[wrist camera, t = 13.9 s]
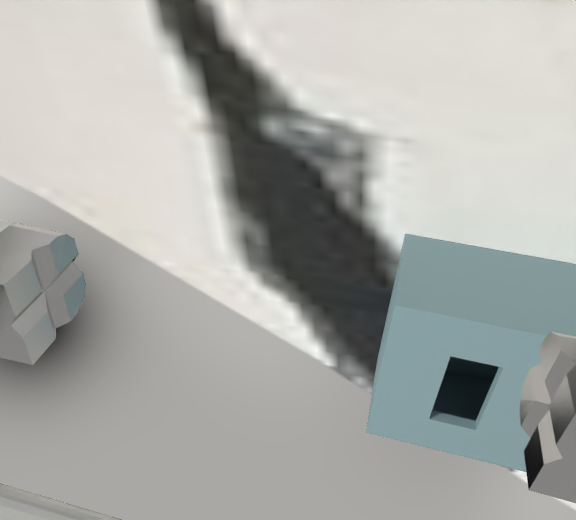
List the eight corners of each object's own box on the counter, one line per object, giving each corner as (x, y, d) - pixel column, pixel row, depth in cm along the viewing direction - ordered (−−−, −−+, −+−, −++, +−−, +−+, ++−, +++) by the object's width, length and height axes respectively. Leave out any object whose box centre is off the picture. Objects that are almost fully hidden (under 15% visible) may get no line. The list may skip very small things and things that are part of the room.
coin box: (646, 276, 44) (687, 364, 36) (573, 398, 53) (593, 488, 46) (405, 233, 47) (395, 305, 39) (378, 355, 57) (365, 432, 49)
